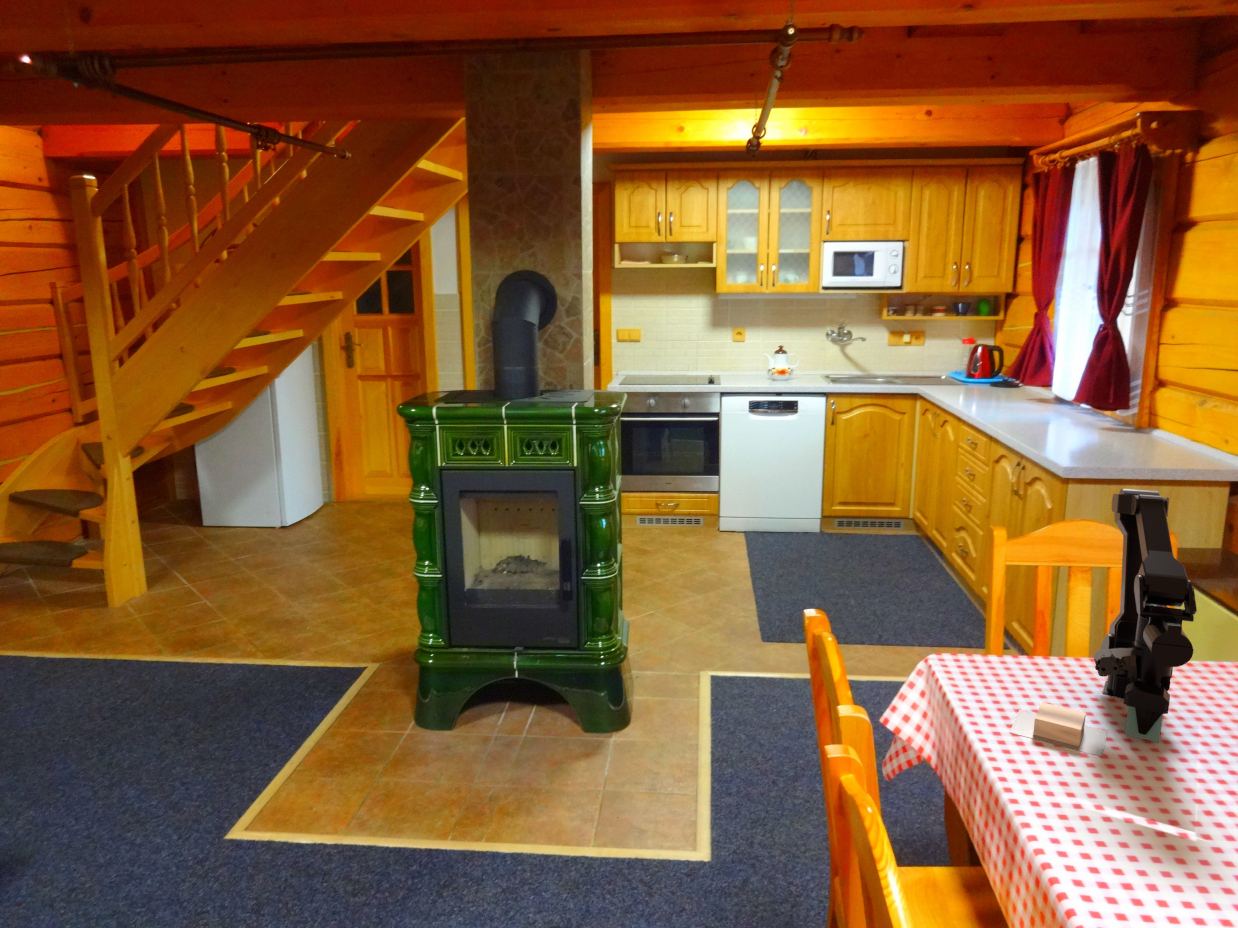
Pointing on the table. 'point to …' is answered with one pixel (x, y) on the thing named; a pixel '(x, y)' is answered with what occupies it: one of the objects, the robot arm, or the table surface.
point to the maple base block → (1059, 723)
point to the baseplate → (1089, 742)
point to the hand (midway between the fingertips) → (1143, 727)
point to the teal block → (1133, 727)
